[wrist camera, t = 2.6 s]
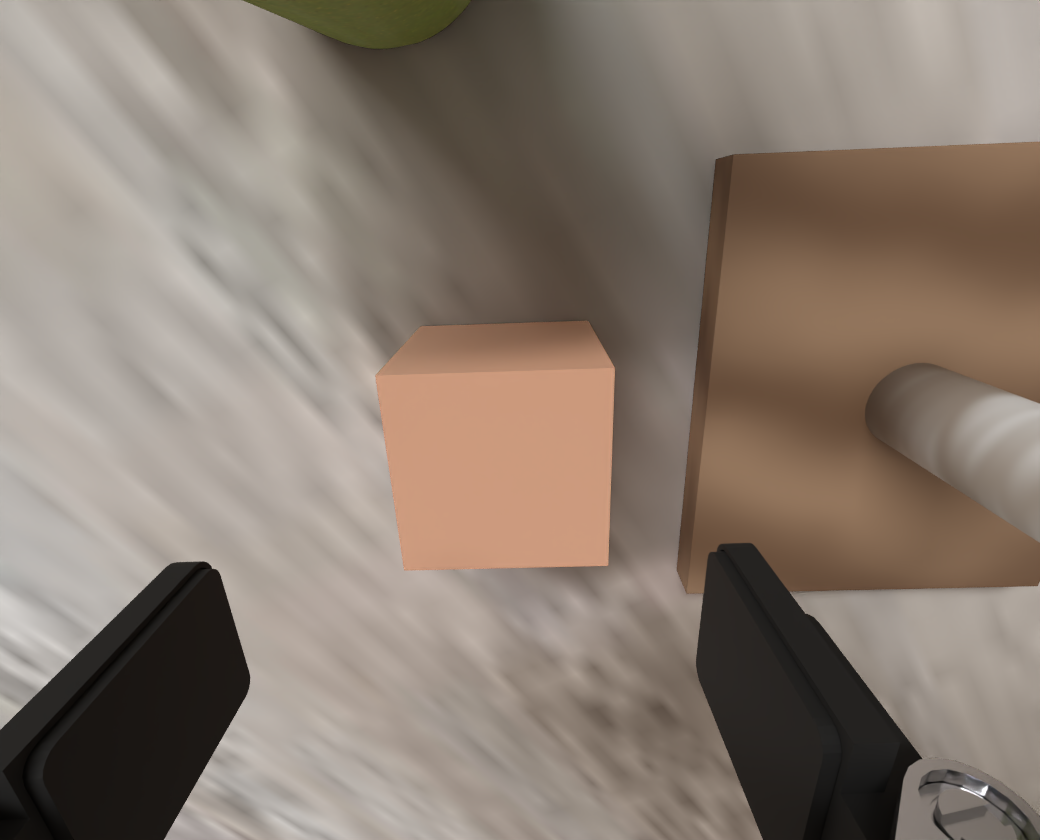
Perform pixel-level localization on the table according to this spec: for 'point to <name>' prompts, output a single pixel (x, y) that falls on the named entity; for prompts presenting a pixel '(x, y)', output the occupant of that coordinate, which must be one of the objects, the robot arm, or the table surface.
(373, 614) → the table surface
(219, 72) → the table surface
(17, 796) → the robot arm
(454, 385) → the salmon orange cube
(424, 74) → the table surface
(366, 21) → the plant pot
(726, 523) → the post board
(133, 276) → the table surface
